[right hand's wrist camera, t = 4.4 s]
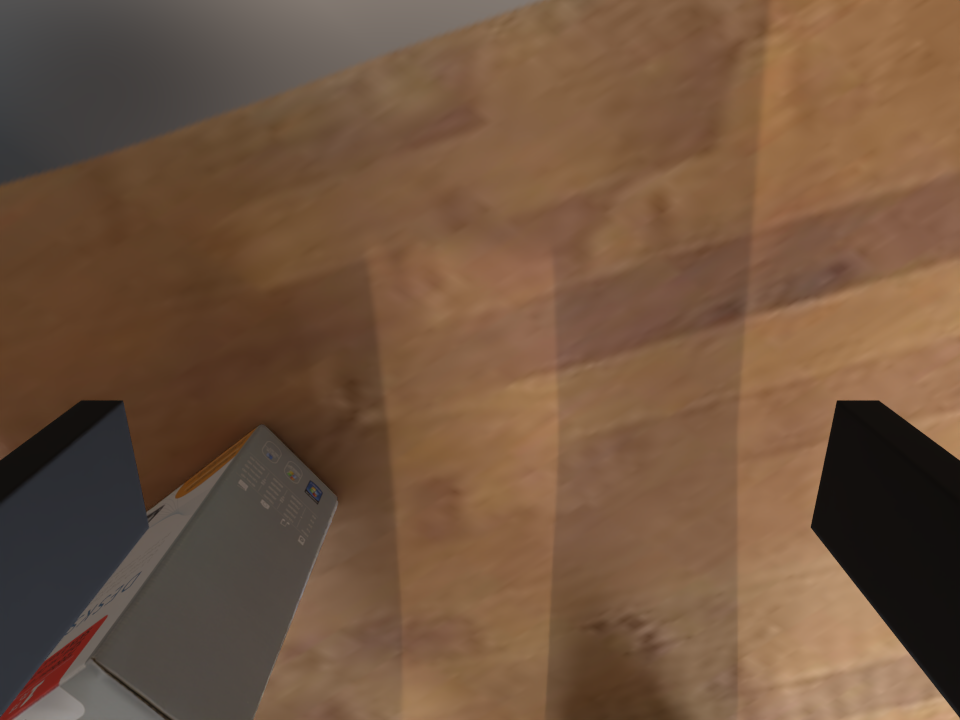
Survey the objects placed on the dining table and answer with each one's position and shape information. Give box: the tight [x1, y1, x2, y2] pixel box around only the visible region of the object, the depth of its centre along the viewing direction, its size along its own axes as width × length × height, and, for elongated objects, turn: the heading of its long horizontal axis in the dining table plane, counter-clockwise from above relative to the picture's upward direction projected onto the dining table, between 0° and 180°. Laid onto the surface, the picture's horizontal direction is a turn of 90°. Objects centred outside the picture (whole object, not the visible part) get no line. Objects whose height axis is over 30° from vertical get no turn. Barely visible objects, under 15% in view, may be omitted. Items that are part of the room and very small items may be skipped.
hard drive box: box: [0, 424, 338, 720], centre depth 36 cm, size 16×8×20 cm, turn 128°
